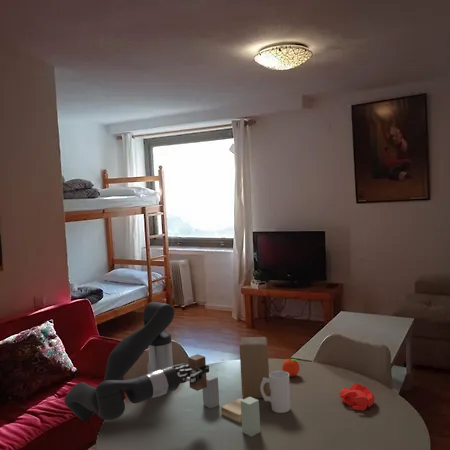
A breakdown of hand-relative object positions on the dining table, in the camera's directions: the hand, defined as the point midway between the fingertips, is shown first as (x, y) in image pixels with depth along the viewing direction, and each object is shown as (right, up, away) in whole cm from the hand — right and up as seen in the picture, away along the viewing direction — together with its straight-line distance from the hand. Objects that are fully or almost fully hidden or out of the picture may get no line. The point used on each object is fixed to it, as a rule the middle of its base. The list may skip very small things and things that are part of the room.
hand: (204, 366), depth 149 cm
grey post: (+2, -17, +12) cm, 21 cm away
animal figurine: (+53, -15, +8) cm, 55 cm away
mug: (+24, -16, +6) cm, 30 cm away
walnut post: (-2, -6, -1) cm, 7 cm away
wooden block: (+19, -16, +20) cm, 31 cm away
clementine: (+34, -15, +34) cm, 50 cm away
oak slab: (+12, -17, +4) cm, 22 cm away
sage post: (+15, -17, -9) cm, 25 cm away
